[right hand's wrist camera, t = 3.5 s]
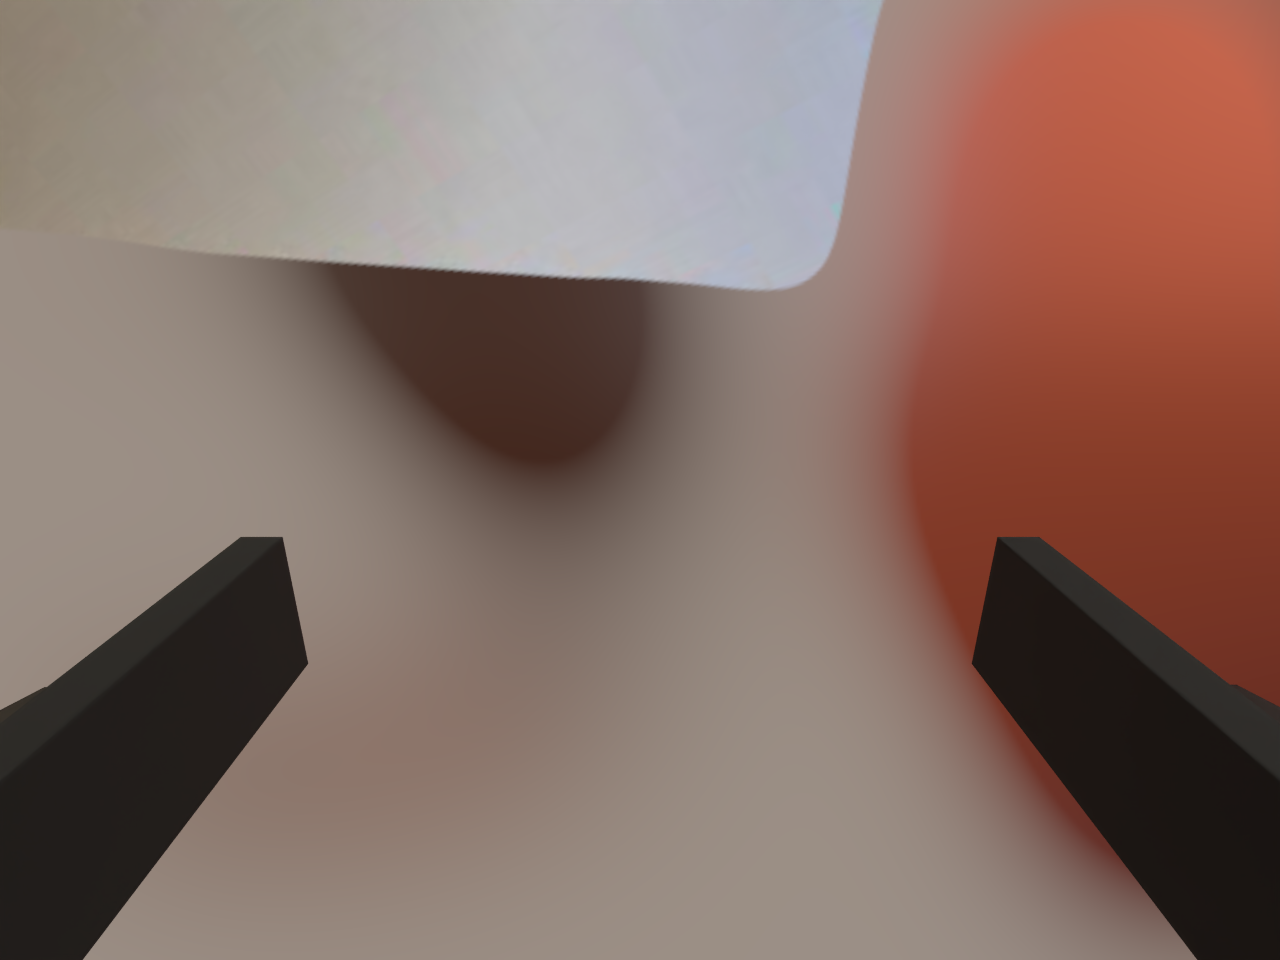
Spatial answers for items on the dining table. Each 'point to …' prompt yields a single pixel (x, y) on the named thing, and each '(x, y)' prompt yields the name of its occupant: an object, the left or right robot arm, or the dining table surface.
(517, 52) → the dining table surface
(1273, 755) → the right robot arm
